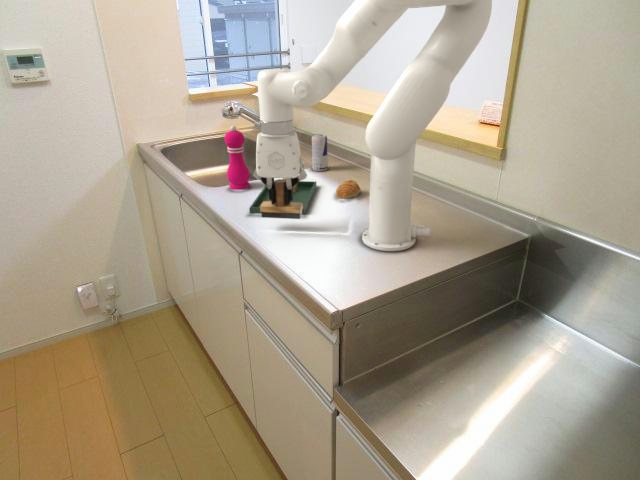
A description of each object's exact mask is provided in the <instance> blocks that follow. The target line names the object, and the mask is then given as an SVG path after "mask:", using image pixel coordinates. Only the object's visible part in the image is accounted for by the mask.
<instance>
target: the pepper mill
mask: <svg viewBox="0 0 640 480" xmlns="http://www.w3.org/2000/svg"><path fill="white" fill-rule="evenodd" d="M224 143H225V145H226V146H227V147H226V149H227V153H228V154H229V164H228V168H227V171H226V179H227V180H228V181H229V183H228V184H229V189H231V190H236V191H237V190H238V191H239V190H245V189H248V188H250V182H249V180H250V178H251V173H250V170H249V168H248V166H247V164H246V162H245V159H244V153H243V152H244V151H245V149H244V146H243V145H244V144H245V135H244V134H243V133H242V132H241V131H240V130H237V127H236V125H233V124H232V125H230V130H229V131H228V132H226V133H225V135H224Z"/></svg>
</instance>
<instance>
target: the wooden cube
mask: <svg viewBox="0 0 640 480" xmlns="http://www.w3.org/2000/svg"><path fill="white" fill-rule="evenodd" d="M282 179H283V180H286V178H282ZM286 186H287V184H286ZM292 188H293V192H296V191H297V189H298V183H297V184H296V185H294V186H293V187H292Z"/></svg>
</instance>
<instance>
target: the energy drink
mask: <svg viewBox="0 0 640 480" xmlns="http://www.w3.org/2000/svg"><path fill="white" fill-rule="evenodd" d="M311 136H312V137H311V159H312V160H311V162H312V171H315V172H326V171H327V170H328V168H329V167H328V166H329V165H328V163H329V162H328V137H327V134H324V133H316V134H313V135H311Z"/></svg>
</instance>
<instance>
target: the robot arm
mask: <svg viewBox="0 0 640 480" xmlns="http://www.w3.org/2000/svg"><path fill="white" fill-rule="evenodd" d="M443 6H445V9H444V13H443V16H442V18H441V19H440V21H439V22H438V24H437V26H436V27H435V29H434V30H433V31H432V33H431V35H430V36H429V38H428V40H427V41H426V42H425V44H424V45H423V46H422V48H421V49H420V51H419V53H418V54H417V55H416V57H415V58H414V59H413V60H412V61H411V62H410V63H409V64H408V65H407V66H406V67H405V68H404V70H403V71H402V72H401V75H400V76H399V77H398V79H397V80H396V81H395V83H394V84H393V86H392V88H391V89H390V91H389V92H388V93H387V95H386V97H385V98H384V99H383V101H382V103H381V104H380V106H379V107H378V108H377V110H376V112H375V113H374V114H373V116H372V117H371V119H370V120H369V122H368V123H367V126H366V128H365V133H364V139H365V144H366V147H367V149H368V151H369V152H370V166H369V167H370V169H369V199H368V200H369V202H368V203H369V205H368V206H369V207H368V228H366V229H365V230H364V231H363V232H362V235H361V241H362V242H363V244H365V246H367V247H369V248H371V249H373V250H376V251H381V252H400V251H404V250H407V249H410V248H412V246H414V245H415V244H416V240H417V239H416V238H417V237H422V238H423V237H425V238H426V237H427V238H429V237H431V236H430V235H431V229H430V227H429V228H428V227H427V228H425V226H424V224H414V223H412V219H411V212H412V197H413V182H414V170H415V156H416V146H417V141H418V140H419V138H420V136H421V135H422V134H423V132H424V131H425V130H426V128H427V127H428V126H429V124H430V123H431V122H432V121H433V120H434V118H435V117H436V115H437V114H438V112H439V111H441V108H443V105H444V104H445V103H446V101H447V99H448V96H449V94H450V89H451V85H452V83H453V82H454V80H455V78H456V77H457V75H458V74H459V73H460V71H461V70H462V69H463V67H464V66H465V65H466V63H467V62H468V60H469V58H470V57H471V55H472V54H473V52H474V51H475V49H476V48H477V46H478V45H479V44H480V42H481V40H482V39H483V37H484V35H485V33H486V31H487V29H488V26H489V24H490V20H491V15H492V8H493V0H354V1H353V2H352V3H351V5H349V7H348V8H347V9H346V10H345V11H344V13H343V14H342V15H341V16H340V17H339V18H338V21H337V22H336V24H335V27H334V32H333V34H332V36H331V38H330V40H329V41H328V43H327V45H326V46H325V47H324V49H323V50H322V51H321V52H320V54H318V56H317V57H316V58H315V59H314V60H313V62H312V63H311V64H310V65H309V66H308V67H306V68H303V69H301V70H296V71H289V70H288V69H284V68H267V69H266V68H265V69H262V70H260V71H259V72H258V73H257V76H256V78H257V81H256V82H257V96H258V106H259V107H258V108H259V120H258V121H254V123H253V127H254V128H256V129H258V130H259V133H257V134H256V135H257V136H256V145H255V146H256V147H255V165H256V166H255V170H254V171H253V173H252V177H253V178H255V179H257V180H259V181H261V183H263V184H264V185H265V186H267V188H268V189H269V200H271V202H272V205H274V204H275V203H276V201H275V185H274V181H275V179H283V178H286V184H287V186H286V189H285V202H286V205H289V204H290V202H291V201H292V200H293V188H292V187H293V186H294V185H296V184H297V183H298V182H299V181H303V180H305V179H307V177H308V173H307V172H306V171H305V169H304V167H303V165H302V154H301V147H300V142H299V137H298V134H297V132H296V131H295V125H294V123H295V122H294V107H296V108H311V107H314V106H316V105H317V104H319V102H321V101H323V100H325V99H326V98H327V97H328V96H329V95H330V94H331V93H332V92H333V91H334V90H335V89H336V88H337V87H338V85H340V84H341V82H342V81H343V80H344V79H345V78H346V77H347V75H348V74H350V72H351V71H352V70H353V69H354V68H355V66H357V64H358V63H359V62H361V60H363V59H364V58H365V57H366V55H367V54H368V53H369V52H370V51H371V50H372V49H373V48H374V46H375V45H377V43H378V42H379V41H380V40H381V39H382V37H383V36H384V35H386V33H387V32H388V31H389V30H390V29H391V27H393V26H394V24H395V23H396V22H398V20H400V18H401V17H402V16H403V15H404V14H405V13H406V11H408V9H419V8H433V7H443Z"/></svg>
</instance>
